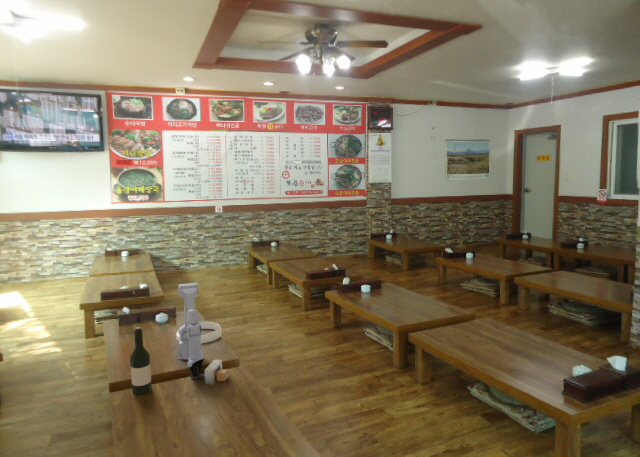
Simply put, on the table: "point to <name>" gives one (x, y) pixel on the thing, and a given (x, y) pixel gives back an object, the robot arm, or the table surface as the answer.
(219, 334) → the white ring
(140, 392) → the wine bottle
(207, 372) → the grey stone bridge block
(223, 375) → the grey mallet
